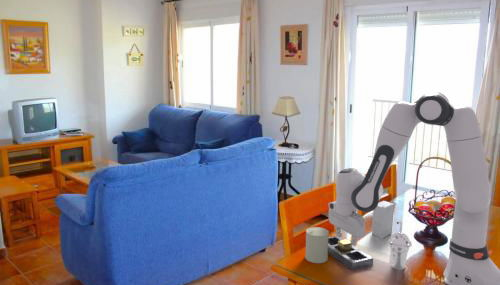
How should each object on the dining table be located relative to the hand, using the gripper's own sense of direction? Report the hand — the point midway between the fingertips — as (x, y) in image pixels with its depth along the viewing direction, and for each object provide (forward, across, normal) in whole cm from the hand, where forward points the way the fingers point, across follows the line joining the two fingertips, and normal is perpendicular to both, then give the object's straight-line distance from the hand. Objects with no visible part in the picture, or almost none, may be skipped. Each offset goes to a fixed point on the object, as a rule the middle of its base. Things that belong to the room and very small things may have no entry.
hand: (346, 240), depth 177 cm
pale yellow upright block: (+7, 0, 0) cm, 7 cm away
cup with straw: (+7, -16, -13) cm, 22 cm away
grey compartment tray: (+6, 0, 0) cm, 7 cm away
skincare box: (+7, +12, -29) cm, 32 cm away
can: (+7, +3, +12) cm, 14 cm away
